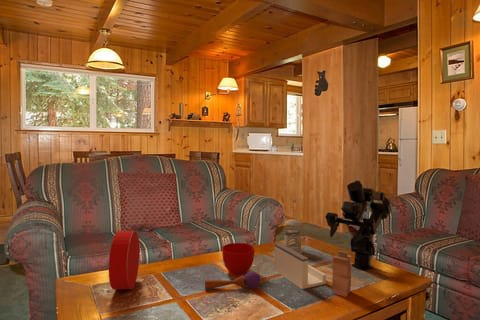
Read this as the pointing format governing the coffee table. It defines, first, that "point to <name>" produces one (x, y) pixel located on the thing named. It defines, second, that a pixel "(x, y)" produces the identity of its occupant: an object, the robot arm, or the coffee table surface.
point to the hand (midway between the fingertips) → (342, 238)
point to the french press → (293, 231)
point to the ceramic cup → (238, 257)
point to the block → (341, 274)
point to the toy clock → (124, 260)
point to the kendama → (236, 281)
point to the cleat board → (296, 268)
